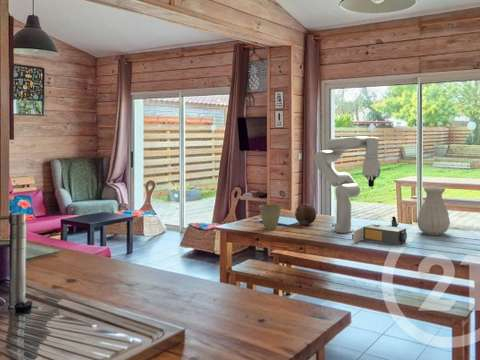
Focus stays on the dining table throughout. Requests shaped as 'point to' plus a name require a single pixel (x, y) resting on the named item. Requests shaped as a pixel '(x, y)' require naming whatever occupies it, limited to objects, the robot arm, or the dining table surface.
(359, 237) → the side door
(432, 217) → the vase
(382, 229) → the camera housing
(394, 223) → the binoculars
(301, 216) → the wooden sphere
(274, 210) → the plant pot
